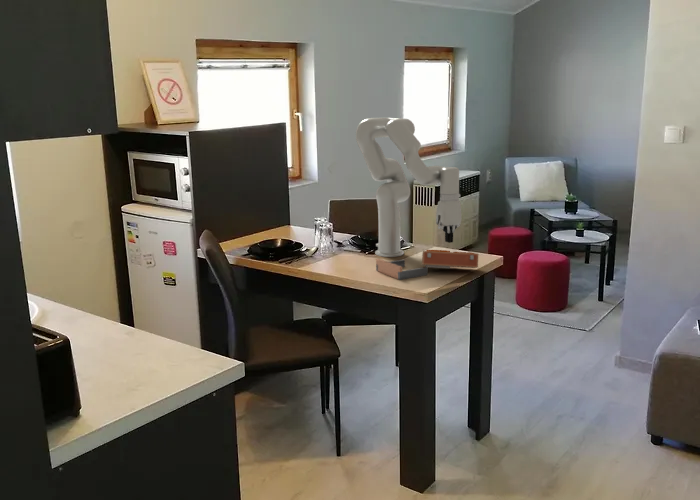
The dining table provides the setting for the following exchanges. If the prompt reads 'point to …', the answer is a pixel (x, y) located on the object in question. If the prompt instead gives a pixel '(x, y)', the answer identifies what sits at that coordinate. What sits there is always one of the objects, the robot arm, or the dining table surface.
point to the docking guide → (398, 269)
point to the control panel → (449, 259)
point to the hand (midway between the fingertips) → (449, 241)
